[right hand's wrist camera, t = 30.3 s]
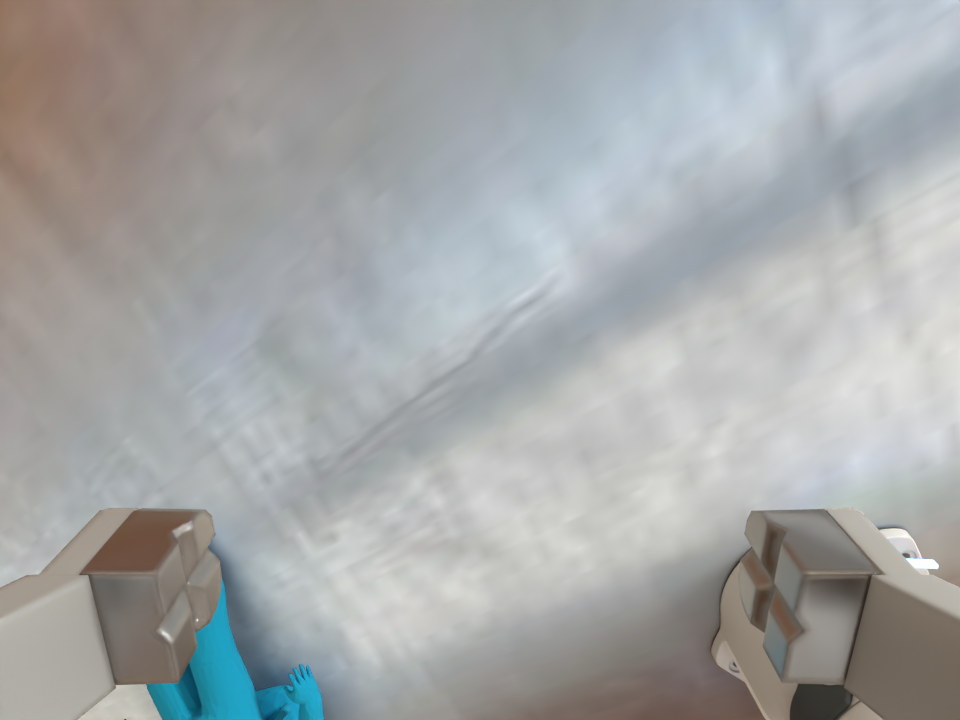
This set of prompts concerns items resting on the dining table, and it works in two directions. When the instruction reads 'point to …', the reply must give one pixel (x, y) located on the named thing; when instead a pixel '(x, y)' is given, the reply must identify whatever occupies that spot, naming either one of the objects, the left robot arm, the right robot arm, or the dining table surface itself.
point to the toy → (232, 684)
